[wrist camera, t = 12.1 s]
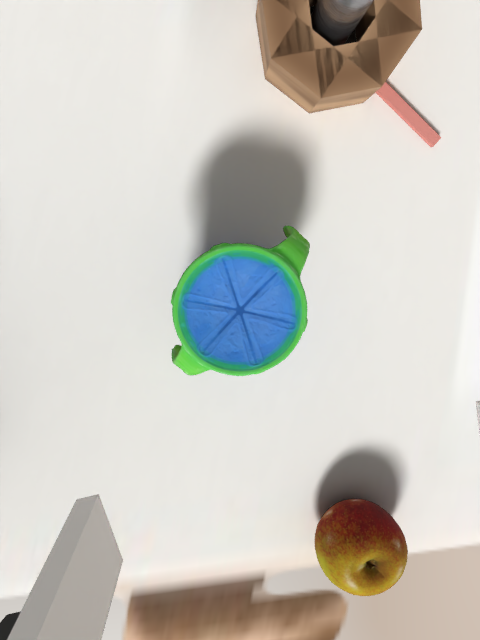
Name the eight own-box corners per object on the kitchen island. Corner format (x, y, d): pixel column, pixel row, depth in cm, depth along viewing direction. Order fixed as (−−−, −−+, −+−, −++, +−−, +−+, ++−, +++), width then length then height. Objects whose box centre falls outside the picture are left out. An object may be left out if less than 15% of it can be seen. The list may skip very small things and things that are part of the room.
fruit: (395, 486, 48) (427, 537, 41) (386, 553, 50) (415, 614, 43) (311, 485, 48) (328, 537, 40) (306, 553, 50) (320, 614, 42)
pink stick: (338, 55, 38) (339, 53, 37) (345, 45, 38) (347, 43, 37) (431, 147, 40) (433, 146, 39) (438, 138, 40) (441, 137, 39)
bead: (271, 120, 39) (277, 106, 34) (248, -30, 36) (251, -69, 31) (400, 96, 39) (425, 78, 34) (387, -57, 36) (412, -100, 31)
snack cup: (214, 376, 45) (210, 421, 35) (143, 302, 42) (118, 328, 33) (330, 279, 43) (361, 297, 33) (262, 196, 40) (274, 189, 31)
